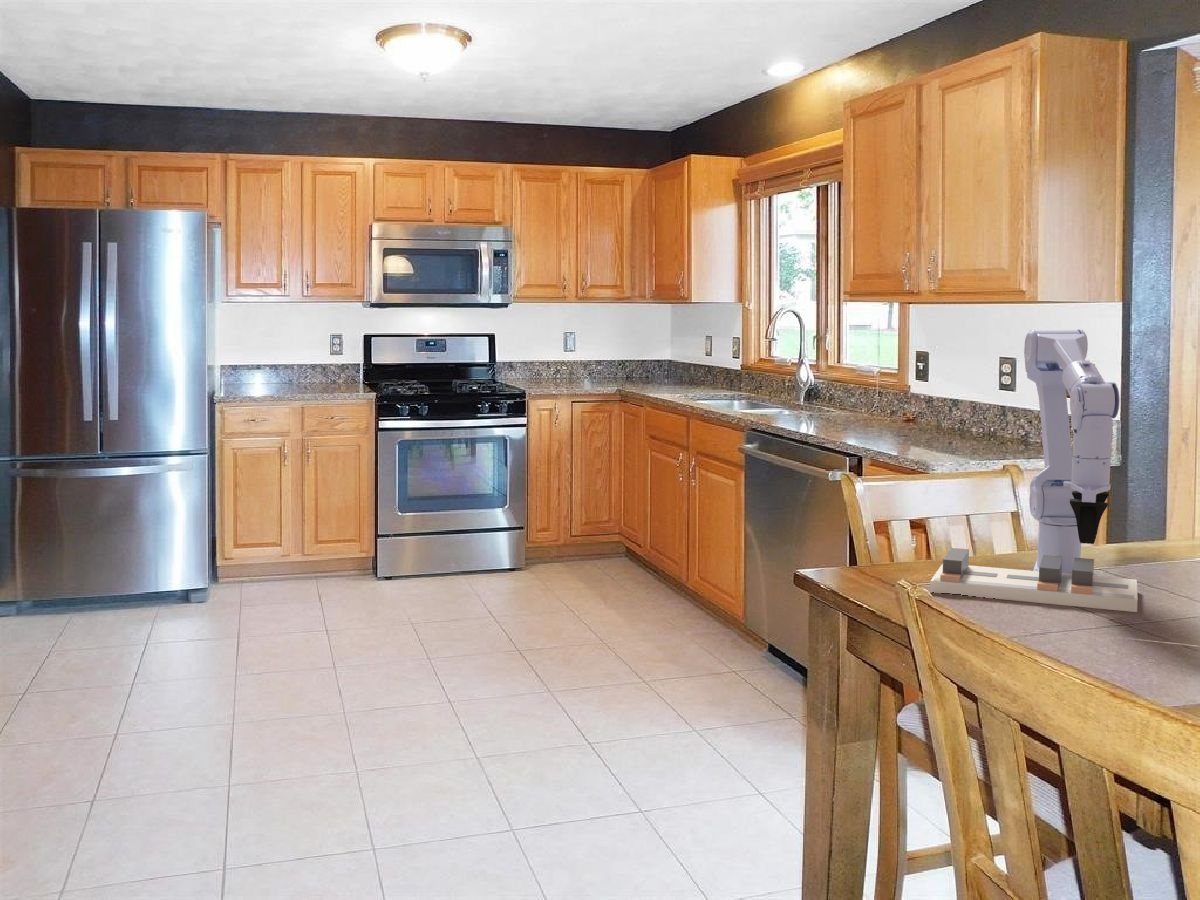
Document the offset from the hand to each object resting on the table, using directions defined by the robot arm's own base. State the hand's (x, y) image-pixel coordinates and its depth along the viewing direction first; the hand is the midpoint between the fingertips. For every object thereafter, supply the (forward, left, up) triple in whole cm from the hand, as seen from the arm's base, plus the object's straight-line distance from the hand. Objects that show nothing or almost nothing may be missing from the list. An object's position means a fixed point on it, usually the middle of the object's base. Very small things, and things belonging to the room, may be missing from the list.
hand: (1087, 538), depth 183 cm
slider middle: (+2, -5, -7) cm, 9 cm away
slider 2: (+2, 0, -7) cm, 7 cm away
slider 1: (+2, -20, -7) cm, 22 cm away
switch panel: (+3, -8, -9) cm, 12 cm away
